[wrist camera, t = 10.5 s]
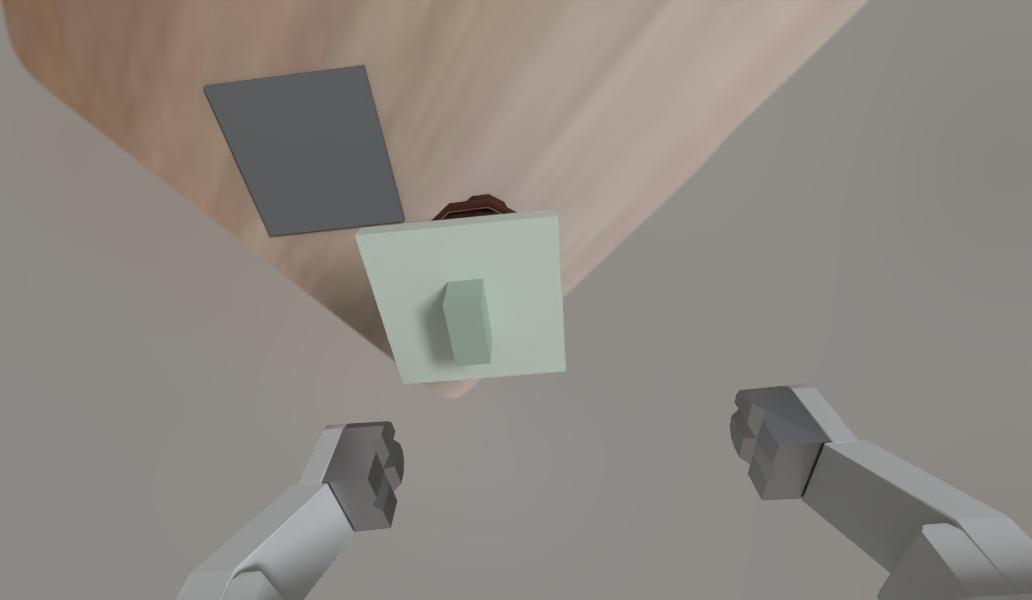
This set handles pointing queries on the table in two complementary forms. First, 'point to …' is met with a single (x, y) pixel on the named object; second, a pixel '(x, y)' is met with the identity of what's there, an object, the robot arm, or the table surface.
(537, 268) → the lid
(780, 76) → the table surface
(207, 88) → the mat
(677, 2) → the table surface
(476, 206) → the ice cream bowl
